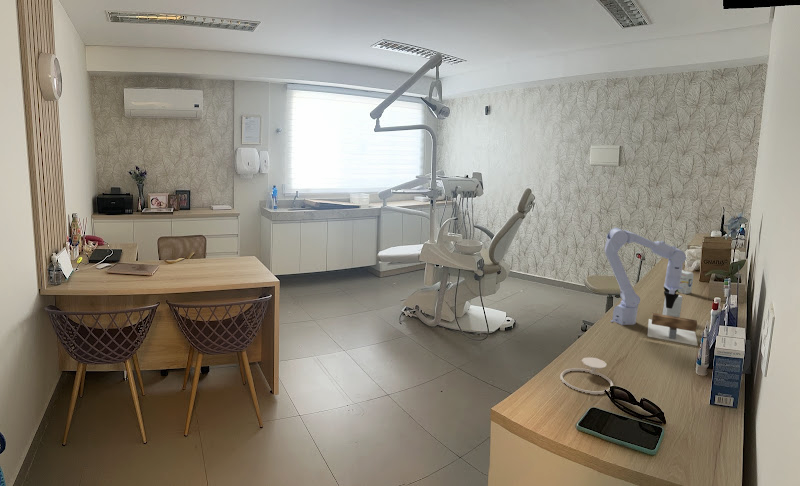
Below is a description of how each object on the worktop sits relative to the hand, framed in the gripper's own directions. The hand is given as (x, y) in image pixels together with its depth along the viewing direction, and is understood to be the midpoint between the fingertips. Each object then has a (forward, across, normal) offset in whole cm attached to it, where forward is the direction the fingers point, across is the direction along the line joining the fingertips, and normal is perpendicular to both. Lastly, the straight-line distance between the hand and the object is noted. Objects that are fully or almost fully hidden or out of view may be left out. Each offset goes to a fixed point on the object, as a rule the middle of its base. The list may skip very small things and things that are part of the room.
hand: (668, 305), depth 208 cm
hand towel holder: (+11, -70, +24) cm, 75 cm away
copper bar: (+5, -12, -2) cm, 13 cm away
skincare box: (+11, +13, -2) cm, 17 cm away
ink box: (+11, +69, -8) cm, 71 cm away
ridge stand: (+10, -6, -2) cm, 12 cm away
